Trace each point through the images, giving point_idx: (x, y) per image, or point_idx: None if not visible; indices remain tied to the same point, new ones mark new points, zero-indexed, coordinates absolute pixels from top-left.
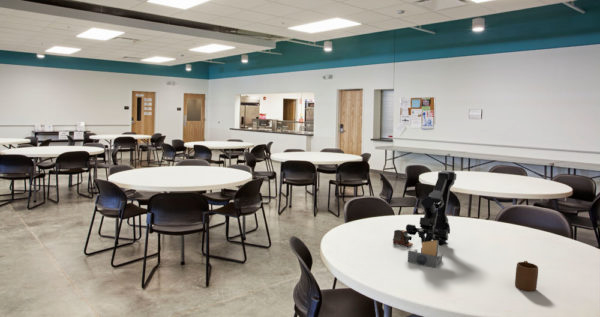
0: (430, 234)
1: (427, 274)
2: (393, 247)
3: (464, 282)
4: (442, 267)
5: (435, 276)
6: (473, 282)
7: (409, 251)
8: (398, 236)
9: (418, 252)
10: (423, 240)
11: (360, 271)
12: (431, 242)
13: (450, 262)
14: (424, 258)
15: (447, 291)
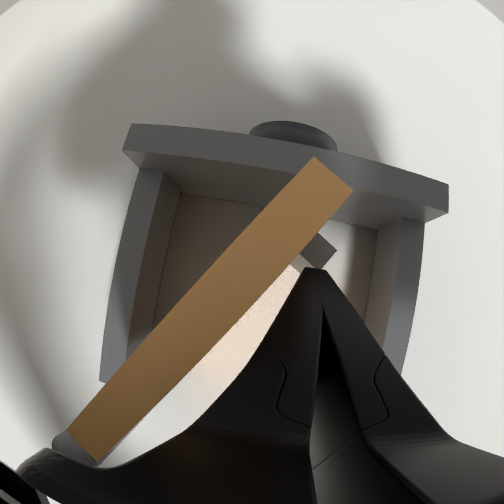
0: (117, 467)
1: (225, 44)
2: None
3: (54, 61)
4: (118, 208)
5: (179, 41)
6: (21, 86)
7: (436, 180)
8: None
9: (346, 181)
10: (342, 355)
11: (490, 33)
12: (154, 332)
13: (70, 353)
14: (260, 126)
15: None
